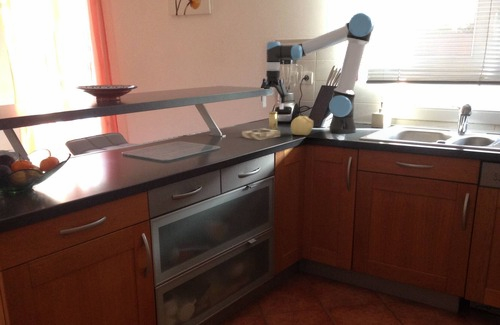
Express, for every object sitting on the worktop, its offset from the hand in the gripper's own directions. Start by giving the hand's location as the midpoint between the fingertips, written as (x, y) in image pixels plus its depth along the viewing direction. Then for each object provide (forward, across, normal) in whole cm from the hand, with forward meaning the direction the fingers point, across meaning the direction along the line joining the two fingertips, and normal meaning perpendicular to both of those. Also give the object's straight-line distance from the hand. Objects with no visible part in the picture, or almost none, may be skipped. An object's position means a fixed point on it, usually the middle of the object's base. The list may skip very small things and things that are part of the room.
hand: (272, 108), depth 253 cm
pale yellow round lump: (+14, -18, -5) cm, 23 cm away
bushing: (+14, 0, 0) cm, 14 cm away
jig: (+14, -4, +14) cm, 20 cm away
